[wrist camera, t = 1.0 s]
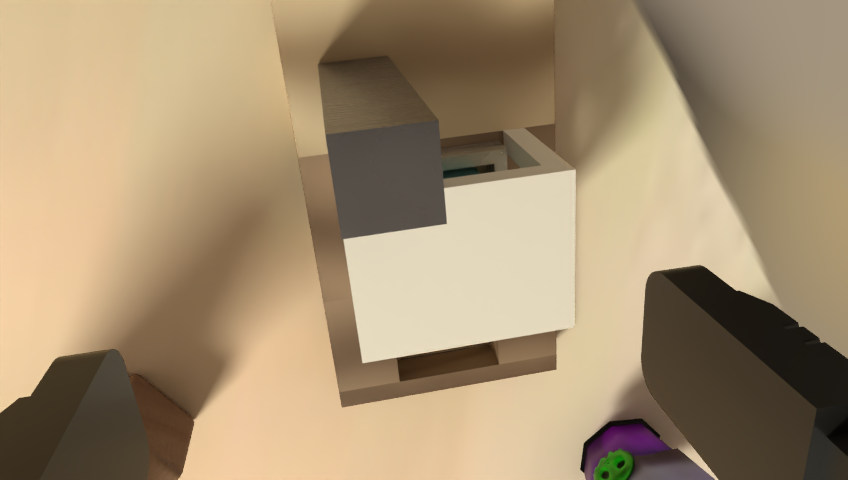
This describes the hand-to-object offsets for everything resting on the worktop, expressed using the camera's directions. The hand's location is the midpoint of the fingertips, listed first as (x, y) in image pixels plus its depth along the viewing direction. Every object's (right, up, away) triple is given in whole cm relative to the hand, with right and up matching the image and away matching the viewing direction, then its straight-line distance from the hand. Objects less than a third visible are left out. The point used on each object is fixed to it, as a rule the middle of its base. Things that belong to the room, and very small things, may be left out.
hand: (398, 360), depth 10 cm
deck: (+1, +5, +23) cm, 23 cm away
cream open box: (+1, +3, +22) cm, 22 cm away
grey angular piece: (0, +5, +20) cm, 21 cm away
